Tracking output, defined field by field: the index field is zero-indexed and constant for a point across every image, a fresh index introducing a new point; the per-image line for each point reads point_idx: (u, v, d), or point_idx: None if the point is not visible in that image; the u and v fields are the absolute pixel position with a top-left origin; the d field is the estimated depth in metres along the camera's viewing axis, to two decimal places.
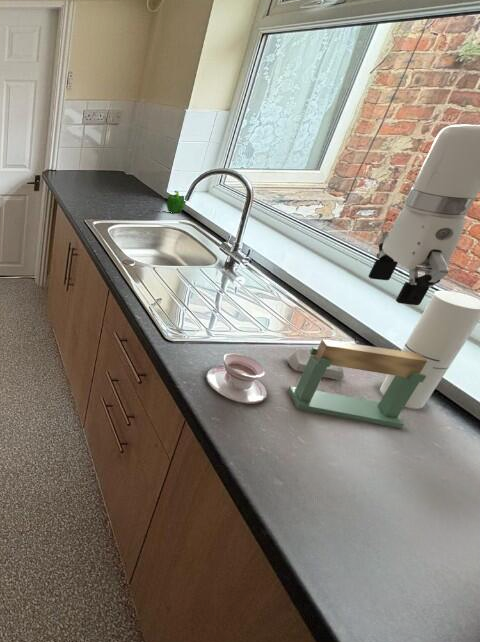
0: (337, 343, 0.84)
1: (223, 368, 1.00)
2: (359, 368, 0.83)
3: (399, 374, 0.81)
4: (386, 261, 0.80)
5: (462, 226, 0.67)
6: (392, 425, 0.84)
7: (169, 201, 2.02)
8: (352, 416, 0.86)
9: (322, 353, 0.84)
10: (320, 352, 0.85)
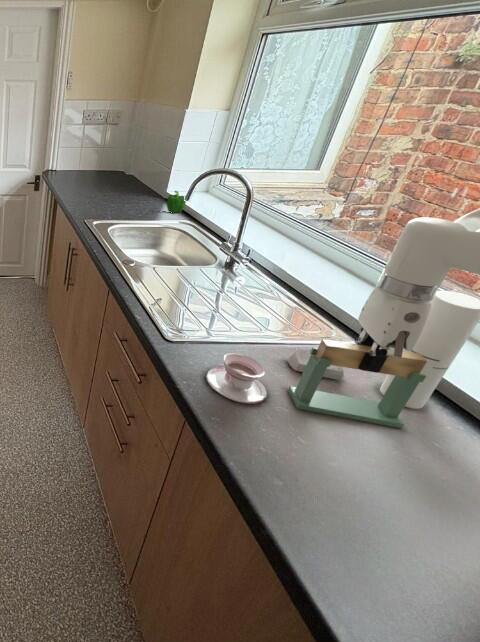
0: (337, 343, 0.84)
1: (223, 368, 1.00)
2: None
3: (399, 374, 0.81)
4: (367, 345, 0.83)
5: (428, 311, 0.72)
6: (392, 425, 0.84)
7: (169, 201, 2.02)
8: (352, 416, 0.86)
9: (322, 353, 0.84)
10: (320, 352, 0.85)
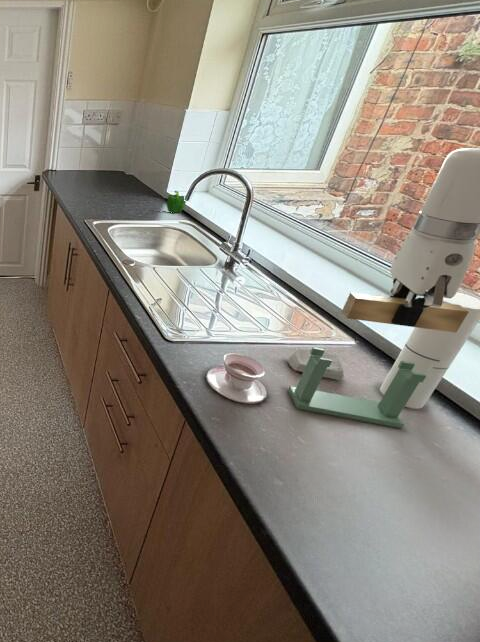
0: (367, 296, 0.77)
1: (223, 368, 1.00)
2: None
3: (437, 327, 0.74)
4: (401, 297, 0.76)
5: (472, 251, 0.65)
6: (392, 425, 0.84)
7: (169, 201, 2.02)
8: (352, 416, 0.86)
9: (351, 307, 0.78)
10: (348, 306, 0.78)
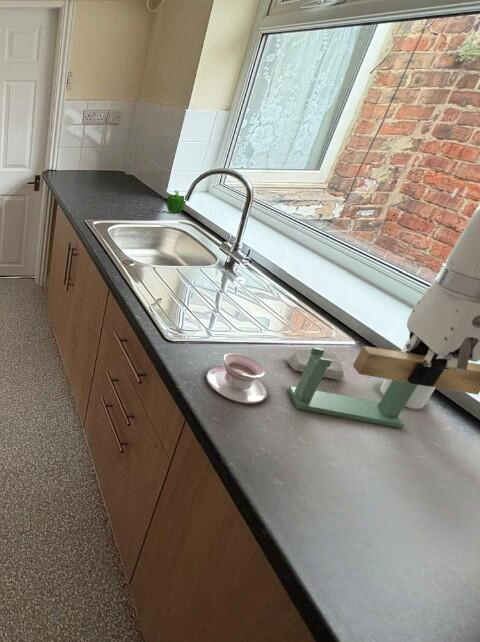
0: (382, 351, 0.71)
1: (223, 368, 1.00)
2: (408, 381, 0.70)
3: (457, 388, 0.68)
4: (418, 354, 0.70)
5: None
6: (392, 425, 0.84)
7: (169, 201, 2.02)
8: (352, 416, 0.86)
9: (364, 362, 0.71)
10: (360, 361, 0.72)
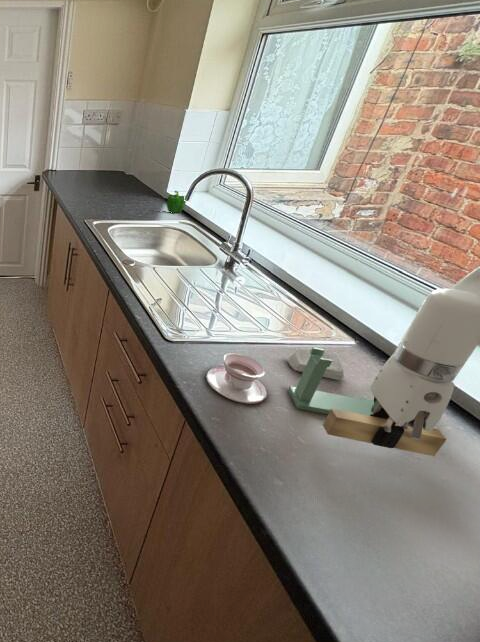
0: (348, 414, 0.77)
1: (223, 368, 1.00)
2: None
3: (416, 450, 0.75)
4: (381, 417, 0.77)
5: (451, 391, 0.66)
6: None
7: (169, 201, 2.02)
8: None
9: (331, 424, 0.78)
10: (329, 422, 0.79)
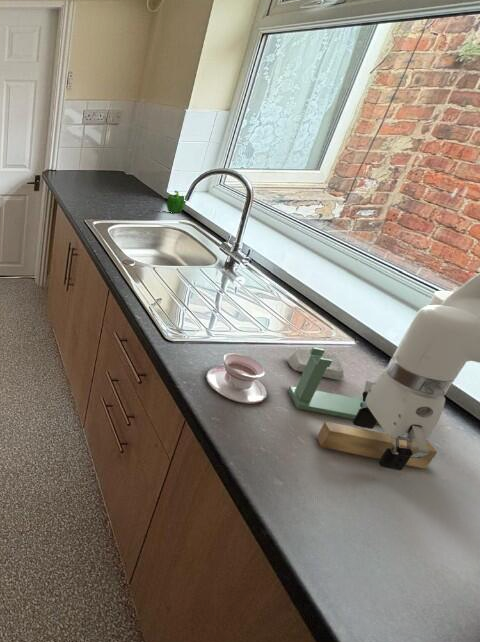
0: (341, 427, 0.79)
1: (223, 368, 1.00)
2: (364, 454, 0.78)
3: (407, 463, 0.76)
4: (369, 411, 0.80)
5: (442, 406, 0.67)
6: None
7: (169, 201, 2.02)
8: (352, 416, 0.86)
9: (325, 437, 0.79)
10: (322, 435, 0.80)
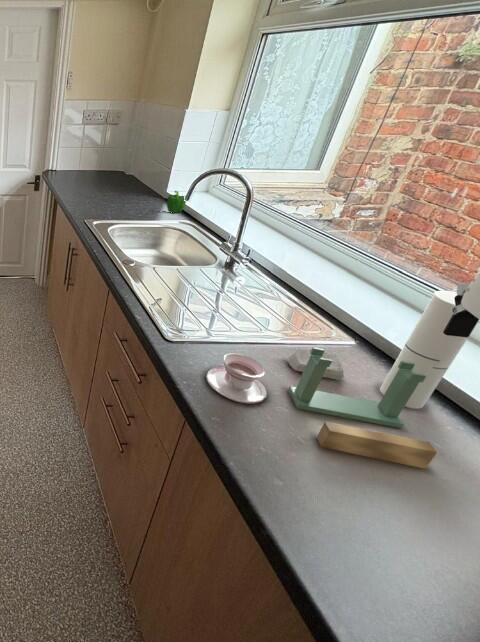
0: (341, 427, 0.79)
1: (223, 368, 1.00)
2: (364, 454, 0.78)
3: (407, 463, 0.76)
4: (465, 316, 0.70)
5: None
6: (392, 425, 0.84)
7: (169, 201, 2.02)
8: (352, 416, 0.86)
9: (325, 437, 0.79)
10: (322, 435, 0.80)
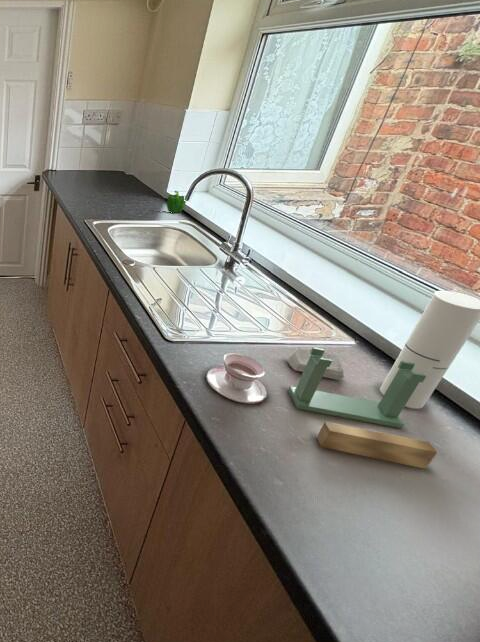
0: (341, 427, 0.79)
1: (223, 368, 1.00)
2: (364, 454, 0.78)
3: (407, 463, 0.76)
4: None
5: None
6: (392, 425, 0.84)
7: (169, 201, 2.02)
8: (352, 416, 0.86)
9: (325, 437, 0.79)
10: (322, 435, 0.80)
